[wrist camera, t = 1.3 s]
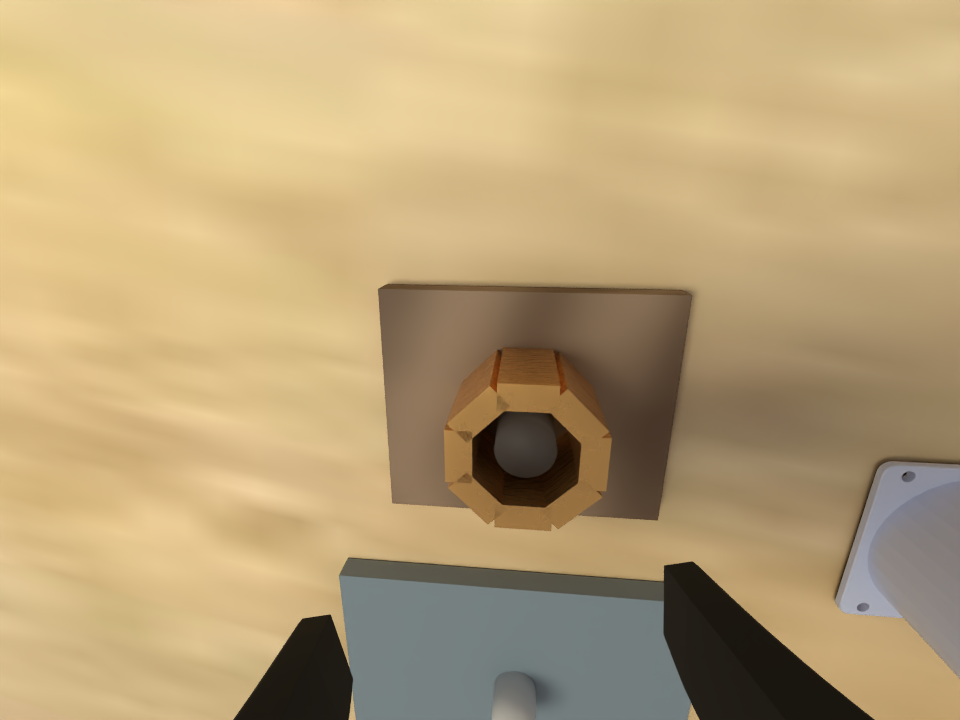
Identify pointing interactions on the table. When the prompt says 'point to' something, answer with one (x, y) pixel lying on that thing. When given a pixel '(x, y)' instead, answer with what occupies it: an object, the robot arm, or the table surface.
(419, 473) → the stand
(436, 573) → the board
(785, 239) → the table surface
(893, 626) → the table surface
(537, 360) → the collar
